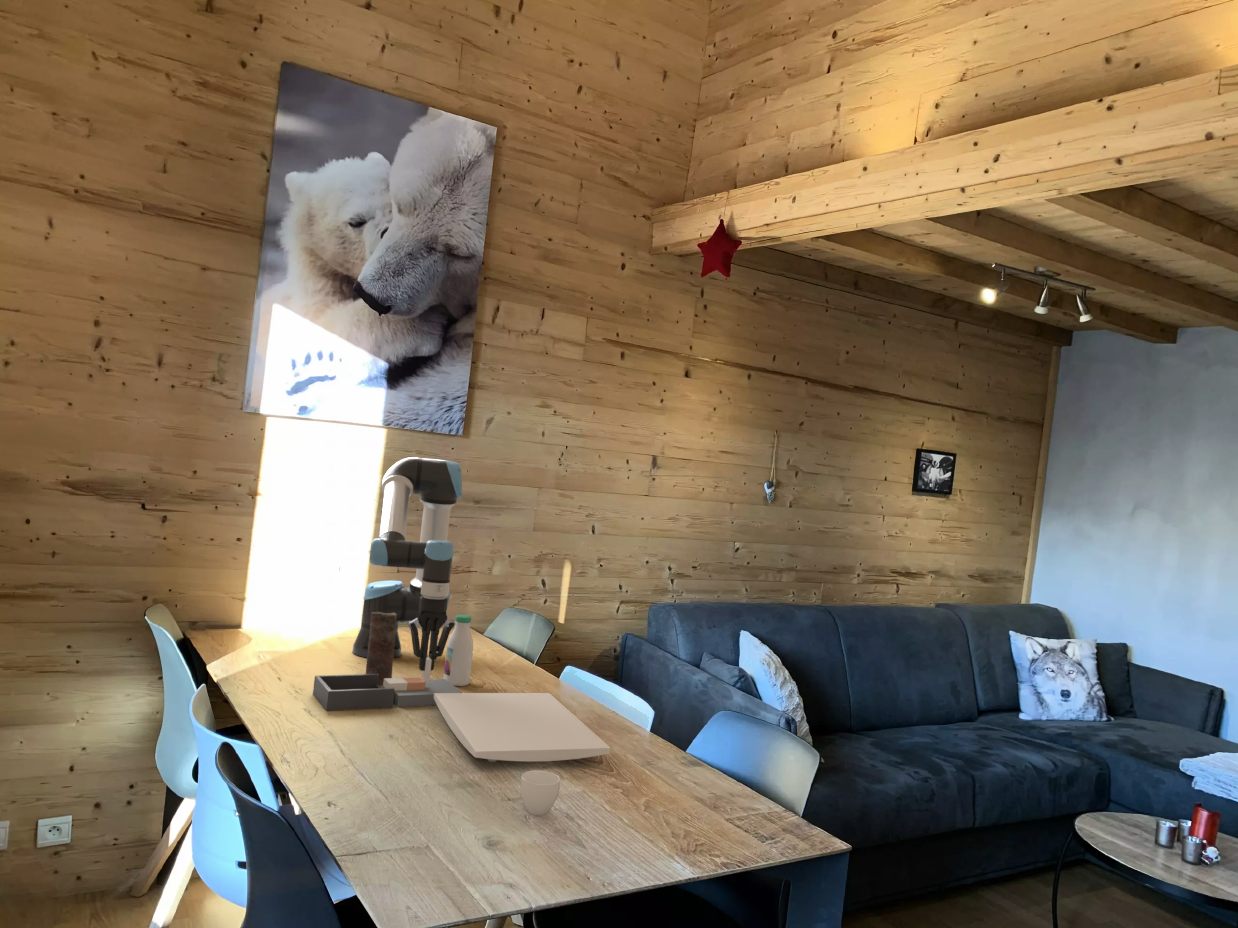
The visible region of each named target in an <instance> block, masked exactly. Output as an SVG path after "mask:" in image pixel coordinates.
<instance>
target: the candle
mask: <svg viewBox="0 0 1238 928" xmlns="http://www.w3.org/2000/svg"><path fill="white" fill-rule="evenodd" d="M396 618H397V614H396V613H382V612H372V613H371V624H370V634H369V645H368V654H367V657H366V664H365V665H366V666H365V674H379V681H378V684H379V685H383V681H384V678H393V677H392V676H393V666H394V658H393V654H394V641H395V630H396Z"/></svg>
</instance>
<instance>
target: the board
mask: <svg viewBox="0 0 1238 928" xmlns="http://www.w3.org/2000/svg"><path fill="white" fill-rule="evenodd" d="M434 700H435V702H436V704H437V705H436V706H437V707H438V708H437V709H439V711H440V713H441V716H442V717H443V719H444V721H445V722H446V724H447V725H448V727H449V728H450V730H451V731H452V733H453V735H455V737H456V738H457V739H458V741H459V742H460V743H461V744H462V745H463V747H464V748H465V749H466V750H467V751H468V752H469V753H470V754H471V755H472V756H473V757H474V758H476V759H485V760H488V762H491V763H495V762H497V761H507V762H508V761H509V762H553V761H554V762H555V761H556V762H557V761H567V760H569V761H570V760H579V759H586V758H592V757H598V756H603V755H609V754H611V749H612V748H611V747H610V746H609V745H608V744H607V743H606V742H605V741H604V740H603V739H602V738H600V737H599V736H598V735H597V734H596V733H595V732H594V731H593V730H591V729H590V728H589V727H588V726H587V725H586V724H584V723H583V722H582V721H581V720H580V719H579V718H578V717H576V716H575V715H574V713H572V712H571V711H570V710H569V709H568V708H566V707H565V706H564V705H563V704H562V703H561V702H560V701H558V699H556V698H555V697H554V696H553V695H552V694H551V693H549V692H463V693H434Z"/></svg>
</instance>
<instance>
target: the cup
mask: <svg viewBox="0 0 1238 928" xmlns="http://www.w3.org/2000/svg"><path fill="white" fill-rule="evenodd" d="M560 786H561V777H560V776H559V775H557V774H556V773H553V772H550V771H547V770H538V769H537V770H529V771H528V770H527V771H525V772H523V773H522V774H521V778H520V797H521V800H522V804H523V806H524V808H525V810H526V812H527V813H528V814H530V815H535V816H545V815H547V814H548V813H549V812H550V810H551V809H552V808H553V806H554V805H555V803H556V801H557V798H558V796H559V792H560Z"/></svg>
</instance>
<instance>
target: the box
mask: <svg viewBox="0 0 1238 928" xmlns="http://www.w3.org/2000/svg"><path fill="white" fill-rule="evenodd" d="M378 681H379V674H366V673H359V674H357V673H356V674H355V673H354V674H326V675H325V674H323V675H318V674H317V675H314V681H313V690H312V695H313V697H314V698H315V699H316V700H317V702H319V704H320V705H321V706H322V708H323V709H324V710H325V711H326V712H334V711H336V712H337V711H355V710H356V711H357V710H373V709H375V710H376V709H377V710H378V709H391V708H393V706H394V703H393V699H394V690H395V689H394V688H383V686H381V684H378Z"/></svg>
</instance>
